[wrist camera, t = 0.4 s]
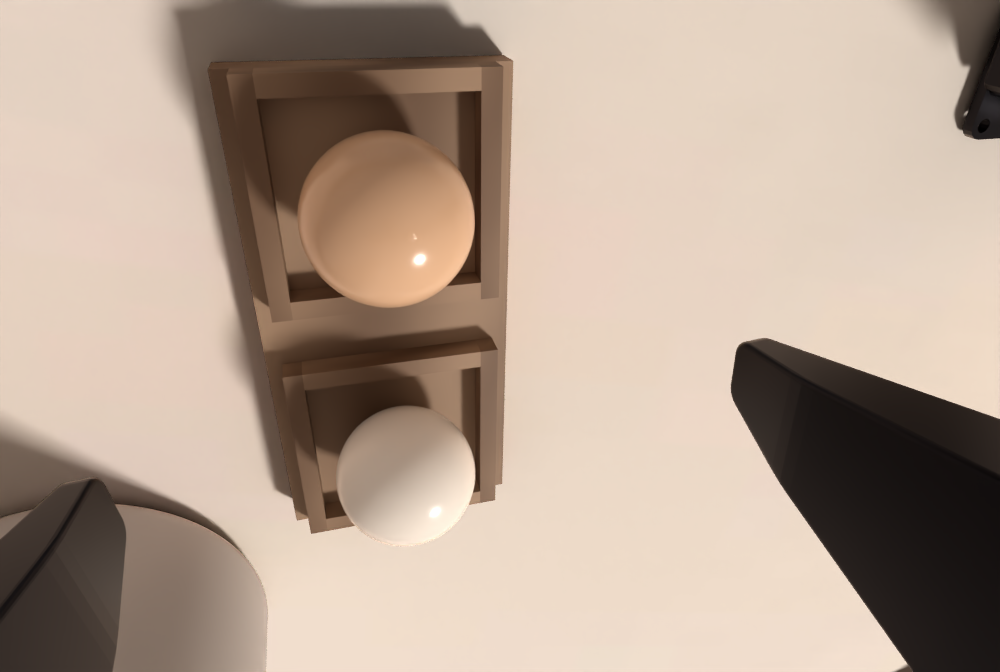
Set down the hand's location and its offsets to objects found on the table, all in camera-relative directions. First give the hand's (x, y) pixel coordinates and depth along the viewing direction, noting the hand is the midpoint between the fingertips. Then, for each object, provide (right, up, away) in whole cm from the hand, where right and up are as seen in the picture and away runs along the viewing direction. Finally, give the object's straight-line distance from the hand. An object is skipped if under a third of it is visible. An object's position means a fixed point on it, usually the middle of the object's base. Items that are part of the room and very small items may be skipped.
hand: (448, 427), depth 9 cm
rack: (-3, +2, +13) cm, 14 cm away
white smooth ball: (-3, -2, +15) cm, 15 cm away
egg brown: (-3, +5, +10) cm, 12 cm away
